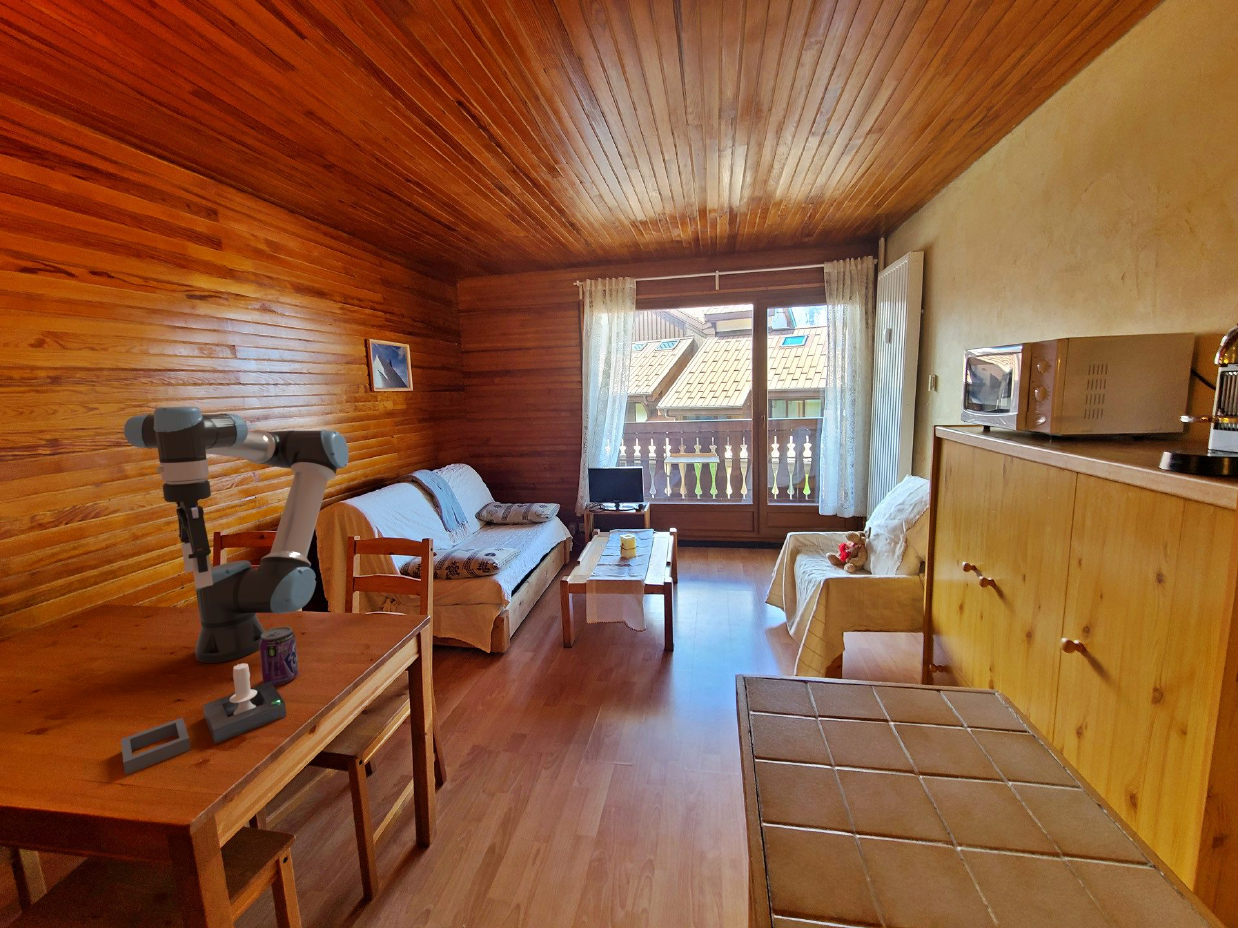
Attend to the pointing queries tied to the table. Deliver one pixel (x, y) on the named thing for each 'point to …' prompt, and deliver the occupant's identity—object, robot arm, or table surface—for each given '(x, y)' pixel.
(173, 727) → the grey square frame
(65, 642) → the table surface
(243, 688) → the candle
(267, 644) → the beverage can
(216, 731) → the port block
